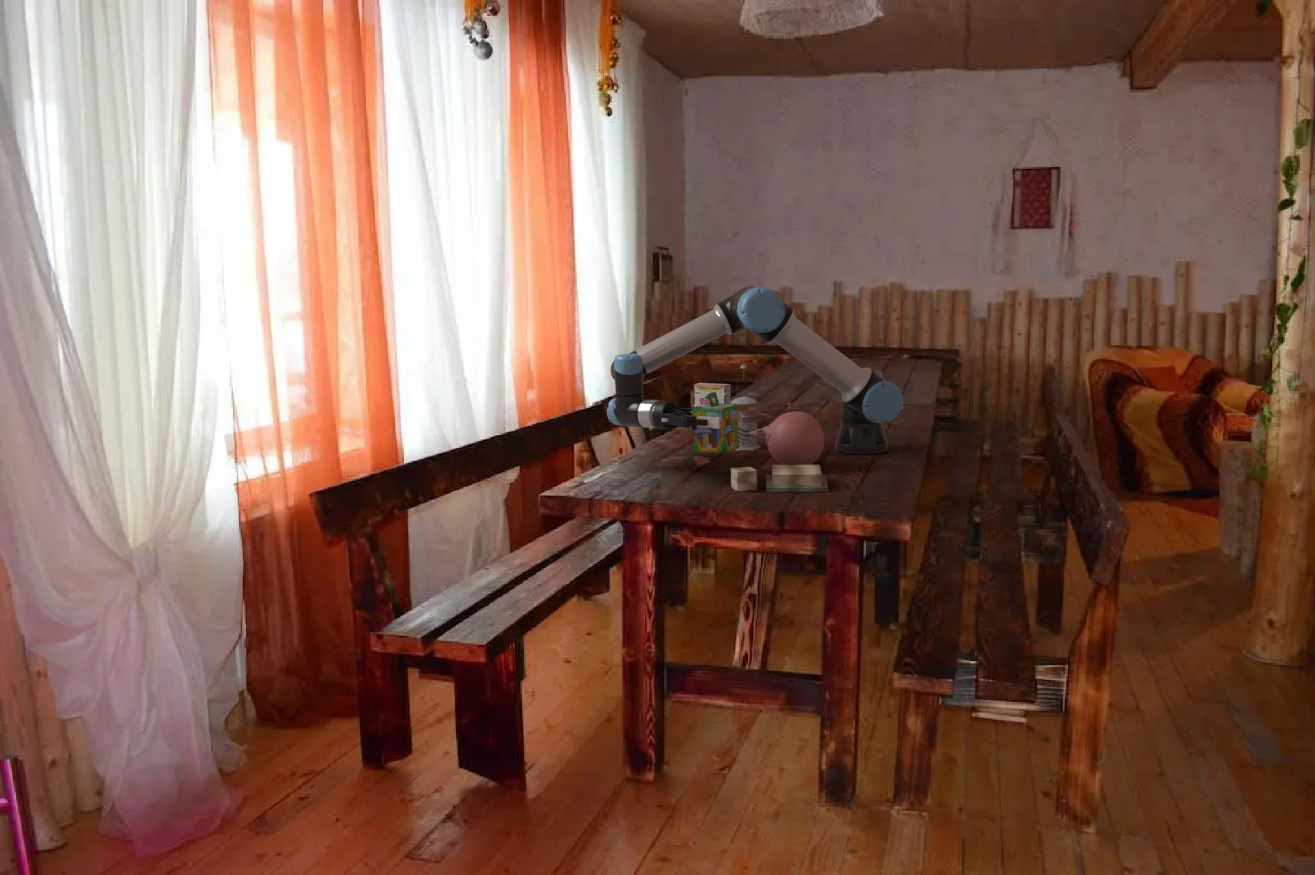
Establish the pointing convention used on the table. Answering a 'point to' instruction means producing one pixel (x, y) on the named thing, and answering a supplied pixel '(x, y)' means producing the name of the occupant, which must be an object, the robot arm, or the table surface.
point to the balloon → (793, 438)
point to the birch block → (744, 479)
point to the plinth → (796, 479)
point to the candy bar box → (705, 388)
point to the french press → (744, 441)
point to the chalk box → (713, 437)
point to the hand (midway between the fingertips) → (730, 420)
